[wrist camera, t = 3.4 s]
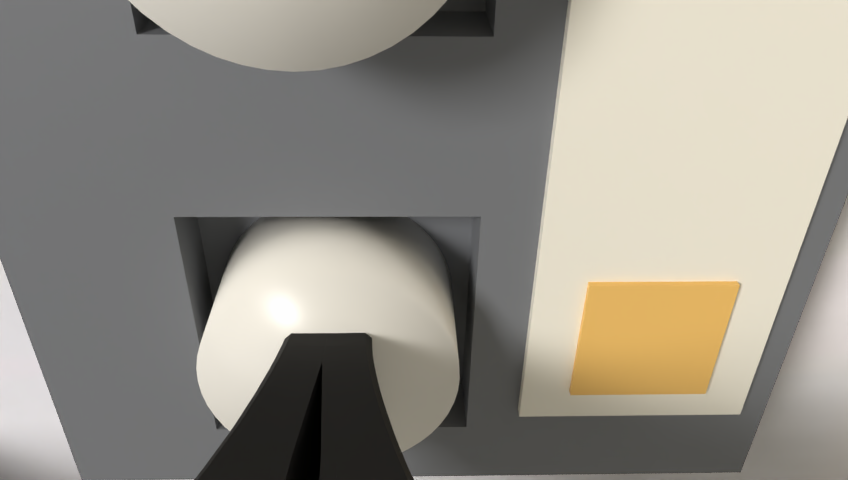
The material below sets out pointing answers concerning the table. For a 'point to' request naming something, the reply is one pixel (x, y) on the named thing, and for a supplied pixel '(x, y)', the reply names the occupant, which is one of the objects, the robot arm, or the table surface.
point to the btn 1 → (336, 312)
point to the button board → (440, 215)
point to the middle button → (290, 28)
